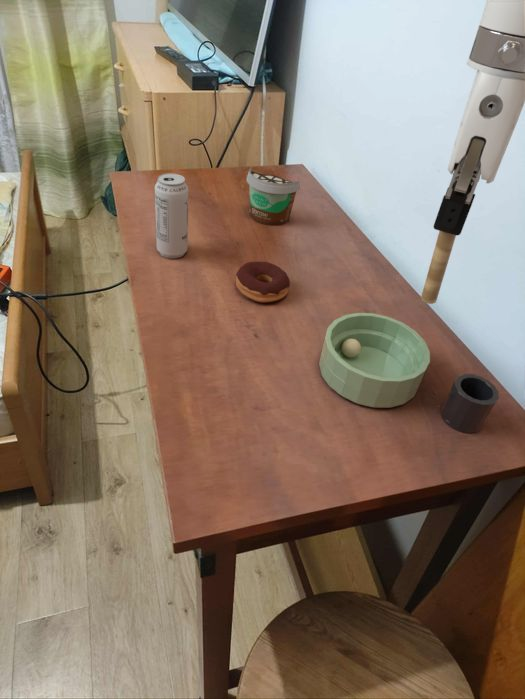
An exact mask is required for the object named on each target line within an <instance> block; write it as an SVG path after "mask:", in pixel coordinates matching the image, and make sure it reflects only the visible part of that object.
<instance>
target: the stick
mask: <svg viewBox="0 0 525 699" xmlns="http://www.w3.org/2000/svg"><path fill="white" fill-rule="evenodd" d="M457 181H458V179H457ZM472 183H473V182H470V183H469V184H472ZM467 196H468V195H467ZM465 201H466V200H465ZM456 238H457V235H453V234H450V233H446V232H443V231H439V230H438V234H437V239H436V242H435V246H434V249H433V253H432V258H431V260H430V263H429V267H428V271H427V275H426V277H425V282H424V286H423V289H422V293H421V295H420V296H421V297H420V300H421V301H422V302H423V303H425V304H428V305H433V304H435V303H437V301H438V298H439V297H438V296H439V295H440V294H439V293H440V290H441V287H442V283H443V280H444V277H445V274H446V271H447V267H448V263H449V260H450V257H451V253H452V251H453V247H454V244H455V240H456Z"/></svg>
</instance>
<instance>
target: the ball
mask: <svg viewBox="0 0 525 699" xmlns="http://www.w3.org/2000/svg"><path fill="white" fill-rule="evenodd" d="M360 351H361V345H360V343H359V342H358V341H357V340H355V339H347V340H346V341H344V343H343V344H342V352H343V353H344V355H345V356H347V357H356V356H357V355H358V354H359V353H360Z"/></svg>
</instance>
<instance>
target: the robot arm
mask: <svg viewBox="0 0 525 699" xmlns="http://www.w3.org/2000/svg"><path fill="white" fill-rule="evenodd" d="M466 65H467V66H469V67H470V68H472V69H474V70H476V72H475V76H474V79H473V82H472V85H471V88H470V91H469V94H468V97H467V101H466V104H465V107H464V110H463V114H462V116H461V120H460V123H459V126H458V130H457V133H456V137H455V140H454V144H453V148H452V152H451V155H450V159H449V163H448V167H447V171H448V173H449V174H450V175H452V176H451V177H452V178H451V180H450V182H449V185H448V187H447V189H446V192H445V195H443V196H442V200H441V203H440V206H439V209H438V212H437V214H436V218H435V220H434V223H433V230H436V231H438V232H439V231H443V232H446V233H450V234H453V235H456V236H460V235H461V234H462V231H463V228H464V226H465V223H466V221H467V218H468V216H469V213H470V210H471V208H472V206H473V202H474V199H475V198H476V194H475V191H476V188H477V186H478V183H479V182H480V179H481V180H484V181H486V182H485V184H491V183H493V182H494V181H495V179H496V176H497V173H498V170H499V168H500V166H501V164H502V160H503V159H504V155H505V153H506V151H507V148H508V146H509V144H510V141H511V138H512V136H513V133H514V131H515V128H516V127H517V123H518V122H519V118H520V116H521V113H522V110H523V107H524V105H525V0H486V2H485V6H484V9H483V11H482V14H481V18H480V20H479V25H478V27H477V30H476V33H475V37H474V40H473V43H472V47H471V49H470V53H469V56H468V59H467V62H466ZM457 179H458V181H457ZM470 182H472V184H469V183H470ZM467 195H468V196H467ZM465 200H466V201H465Z"/></svg>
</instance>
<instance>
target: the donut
mask: <svg viewBox="0 0 525 699" xmlns="http://www.w3.org/2000/svg"><path fill="white" fill-rule="evenodd" d="M235 276H236V277H235V278H236V279H235V285H236V288H237V289H238V290H239V292H240V293H241V294H242V295H243V296H245V297H246V298H247V299H250V300H252V301H254V302H257V303H262V304H263V303H272V302H277V301H279V300H281V299H283V298H284V297H285V296H287V294H288V293H289V289H290V286H291V281H290V277H289V275H288V274H287V272H286V271H285V270H284V269H282V268H281V267H280V266H278V265H276V264H274V263H271V262H268V261H263V260H262V261H261V260H260V261H249V262H246V263H244V264H243V265H241V266H240V267H239V269H238V270H237V272H236V274H235Z"/></svg>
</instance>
